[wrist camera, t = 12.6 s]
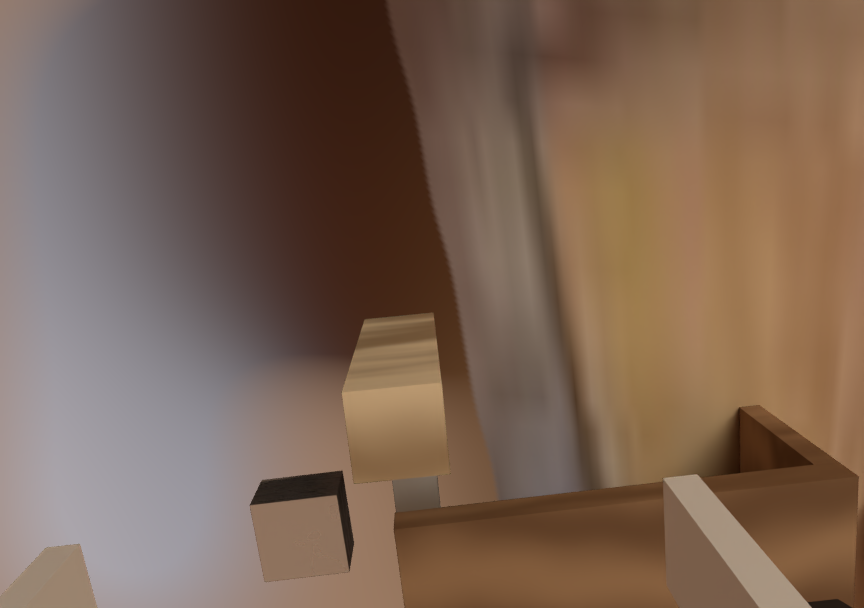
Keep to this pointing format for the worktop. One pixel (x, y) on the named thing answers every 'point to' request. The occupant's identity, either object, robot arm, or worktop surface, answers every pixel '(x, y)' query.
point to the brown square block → (303, 526)
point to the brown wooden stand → (634, 534)
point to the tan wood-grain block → (397, 409)
